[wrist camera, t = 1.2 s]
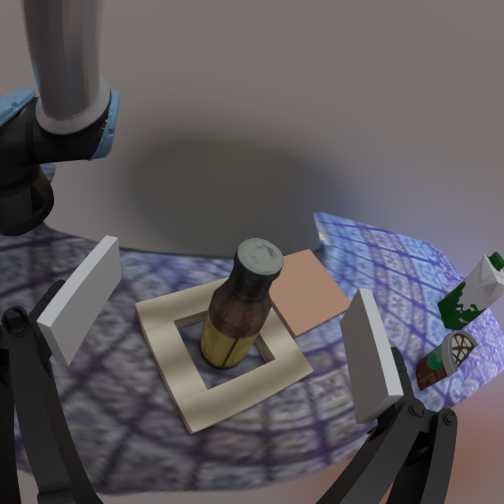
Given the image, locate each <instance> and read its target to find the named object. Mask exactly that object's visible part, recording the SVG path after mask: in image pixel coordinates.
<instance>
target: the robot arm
mask: <svg viewBox="0 0 504 504" xmlns="http://www.w3.org/2000/svg"><path fill="white" fill-rule="evenodd" d="M21 8H22V16H23V23H24V29H25V35H26V40H27V46H28V51H29V55H30V60H31V64H32V68H33V72H34V76H35V80H36V83H37V87H38V91H39V94H40V97H35V95H36V93H35V91H34V89H32V88H25V89H22V90H18V91H15V92H13V93H10V94H8V95H6V96H4V97H2V98H0V234H3V235H18V234H22V233H24V232H27V231H29V230H31V229H33V228H34V227H36V226H37V225H39V224H40V223H41V222H42V221H43V220H44V219H45V218H46V217H47V216H48V215H49V213H50V212H51V210H52V207H53V205H54V196H53V190H52V187H51V185H50V183H49V181H48V179H47V178H46V176H45V174H44V172H43V170H42V169H41V166H40V164H44V163H53V162H63V161H74V160H89V161H90V160H92V159H98V158H104V157H106V156H107V155H108V154H109V153H110V151H111V148H112V144H113V139H114V130H115V125H116V120H117V114H118V106H119V93H118V91H115V90H112V89H109V86H108V83H107V82H106V80H105V79H104V78H103V77H102V76H100V44H101V29H102V18H103V8H104V0H21ZM121 278H122V276H121V267H120V256H119V243H118V238H116V237H111V236H105V238H104V239H103V240H102V241H101V242H100V243H99V244H98V245H97V246H96V247H95V248H94V249H93V251H92V252H91V253H90V254H89V255H88V256H87V257H86V259H85V260H84V261H83V262H82V263H81V264H80V266H79V267H78V268H77V269H76V270H75V272H74V273H73V274H72V275H71V276H70V278H69V279H68V280H67V281H64V280H59V281H57V282H56V283H54V284H53V285H52V286H51V287H50V288H49V290H48V291H47V293H45V295H44V296H43V297H42V299H41V300H40V301H39V302H38V304H37V305H36V306H35V308H34V309H33V310H32V311H31V313H30V314H29V316H27V314H26V311H25V310H24V309H23V308H22V307H19V306H13V307H11V308H9V309H7V310H6V311H5V312H4V314H3V315H2V318H1V321H2V323H3V325H0V504H21V498H20V491H19V484H18V477H17V469H16V458H15V443H14V401H15V406H16V412H17V417H18V422H19V426H20V430H21V435H22V439H23V442H24V446H25V450H26V453H27V456H28V460H29V463H30V466H31V469H32V472H33V475H34V478H35V480H36V483H37V486H38V489H39V493H38V495H37V500H38V504H103V502H102V501H101V500H100V499H99V497H98V496H97V495H96V493H95V491H94V489H93V487H92V485H91V483H90V481H89V479H88V477H87V475H86V472H85V470H84V468H83V466H82V463H81V461H80V458H79V456H78V454H77V451H76V448H75V446H74V443H73V440H72V438H71V435H70V432H69V429H68V426H67V423H66V420H65V417H64V414H63V410H62V407H61V403H60V400H59V396H58V392H57V388H56V384H55V380H54V375H53V371H52V366H51V362H50V360H49V358H50V356H51V355H52V354H53V356H54V358H55V360H56V361H58V362H60V363H62V364H64V365H67V366H69V365H70V363H71V362H72V360H73V358H74V356H75V354H76V352H77V351H78V349H79V347H80V345H81V343H82V342H83V340H84V338H85V336H86V335H87V333H88V331H89V329H90V328H91V326H92V324H93V323H94V321H95V319H96V318H97V316H98V314H99V313H100V311H101V309H102V308H103V306H104V305H105V303H106V301H107V300H108V298H109V297H110V295H111V293H112V292H113V290H114V289H115V287H116V286H117V284H118V283H119V281H120V280H121ZM340 326H341V331H342V336H343V342H344V347H345V352H346V358H347V364H348V370H349V376H350V382H351V388H352V395H353V402H354V409H355V417H356V424H370V423H372V422H373V421H374V420H375V419H377V420H378V424H377V425H376V426H375V427H374V428H372V429H371V430H370V431H368V432H367V434H370V433H371V434H370V435H369V437H368V438H367V440H366V441H365V443H364V444H363V445H362V447H361V448H360V450H359V451H358V453H357V454H356V455H355V457H354V458H353V459H352V461H351V462H350V463H349V465H348V466H347V467H346V469H345V470H344V471H343V472H342V474H341V475H340V476H339V477H338V479H337V480H336V481H335V482H334V483H333V485H332V486H331V487H330V488H329V490H327V492H326V493H325V494H324V495H323V496H322V497H321V499H319V501H318V502H317V503H316V504H379V502H380V501H381V499H382V498H383V496H384V495H385V493H386V492H387V490H388V488H389V487H390V485H391V483H392V482H393V480H394V479H395V480H394V483H393V486H392V489H391V492H390V494H389V497H388V500H387V502H386V504H444V501H445V497H446V493H447V489H448V485H449V480H450V475H451V469H452V464H453V457H454V450H455V443H456V434H457V416H456V414H455V413H454V411H453V410H451V409H450V408H443V409H441V410H440V411H439V412H434V411H431V410H427V409H426V408H425V406H424V404H423V403H422V402H421V401H420V400H418V399H416V398H415V397H414V393H413V390H412V386H411V383H410V379H409V376H408V373H407V369H406V366H405V363H404V360H403V357H402V355H401V353H400V352H399V350H398V349H397V347H390V345H389V342H388V339H387V335H386V332H385V329H384V326H383V323H382V320H381V317H380V315H379V312H378V309H377V306H376V303H375V300H374V298H373V295H372V292H371V290H367V289H362V288H359V289H358V291H357V292H356V294H355V296H354V298H353V300H352V302H351V304H350V305H349V307H348V309H347V311H346V313H345V314H344V316H343V318H342V320H341V321H340Z"/></svg>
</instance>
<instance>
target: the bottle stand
mask: <svg viewBox="0 0 504 504" xmlns="http://www.w3.org/2000/svg"><path fill="white" fill-rule="evenodd" d="M228 278H229V277H228ZM228 278H224V279H221V280H217V281H214V282H210V283H207V284H203V285H200V286H196V287H193V288H189V289H186V290H182V291H178V292H175V293H171V294H168V295H164V296H160V297H157V298H153V299H149V300H146V301H142V302H138V303H135V310H136V316H137V319H138V321H139V324H140V327H141V329H142V332H143V334H144V337H145V340H146V342H147V345H148V347H149V349H150V352H151V354H152V357H153V359H154V361H155V364H156V366H157V368H158V370H159V373H160V375H161V377H162V379H163V381H164V384H165V386H166V388H167V390H168V392H169V394H170V396H171V398H172V400H173V402H174V404H175V406H176V408H177V410H178V412H179V414H180V416H181V418H182V420H183V422H184V424H185V425H186V427H187V429H188V431H189V433H190V434H193V433H196V432H198V431H201V430H203V429H205V428H208V427H210V426H212V425H215V424H217V423H219V422H221V421H223V420H226V419H228V418H230V417H232V416H234V415H236V414H238V413H240V412H242V411H244V410H246V409H248V408H250V407H252V406H254V405H256V404H258V403H260V402H262V401H264V400H266V399H268V398H269V397H271V396H273V395H275V394H277V393H279V392H280V391H282V390H284V389H286V388H287V387H289V386H291V385H293V384H294V383H296V382H298V381H299V380H301V379H303V378H304V377H306V376H307V375H309V374H310V373H311V372H313V371H314V370H313V369H312V367H311V366H310V364H309V363H308V361H307V360H306V358H305V357H304V355H303V354H302V352H301V351H300V349H299V348H298V346H297V345H296V343H295V341H294V340H293V338H292V337H291V335H290V334H289V332H288V331H287V329H286V328H285V326H284V325H283V323H282V322H281V320H280V319H279V317H278V316H277V314H276V313H275V311H274V310H273V308H272V307H271V309H270V312H269V315H268V317H267V319H266V321H265V323H264V326H263V328H262V329H261V331H260V333H259V334H258V336H257V337H256V339H255V341H254V342H253V343H254V344H255V346H256V348H257V349H258V351H259V353H260V354H261V356H262V357H263V359H264V361H265V362H266V364H265V365H263V366H261V367H258V368H256V369H254V370H252V371H250V372H248V373H246V374H244V375H241V376H239V377H237V378H235V379H232V380H230V381H228V382H226V383H223V384H221V385H219V386H216V387H214V388H212V389H209V390H207V388H206V386H205V384H204V382H203V380H202V378H201V377H200V375H199V373H198V371H197V369H196V367H195V365H194V363H193V361H192V359H191V357H190V355H189V353H188V351H187V349H186V347H185V345H184V343H183V341H182V338H181V336H180V334H179V332H178V330H177V329H179V328H182V327H186V326H189V325H192V324H195V323H198V322H201V321H204V320H206V316H207V312H208V308H209V305H210V302H211V299H212V296H213V293H214V291H215V290H216V289H217V288H218V287H220V286H221V285H222V284H223V283H224V282H225V281H226V280H227V279H228Z"/></svg>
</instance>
